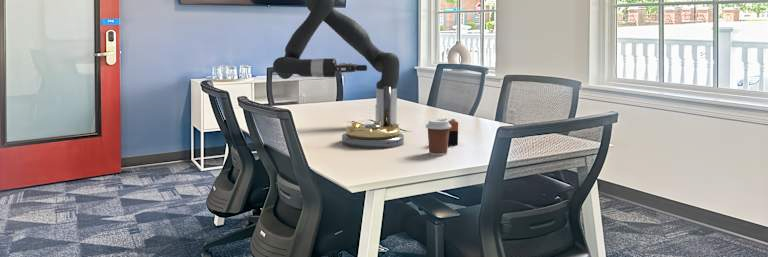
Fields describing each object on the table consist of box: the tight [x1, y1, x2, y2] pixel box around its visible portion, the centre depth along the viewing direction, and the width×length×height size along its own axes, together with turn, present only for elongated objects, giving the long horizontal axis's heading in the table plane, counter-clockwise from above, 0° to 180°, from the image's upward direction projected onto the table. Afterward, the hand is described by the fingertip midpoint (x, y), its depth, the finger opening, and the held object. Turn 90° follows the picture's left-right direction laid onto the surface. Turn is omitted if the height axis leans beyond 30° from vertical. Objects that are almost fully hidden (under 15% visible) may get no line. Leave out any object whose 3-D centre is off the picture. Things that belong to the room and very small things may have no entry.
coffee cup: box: [425, 118, 451, 156], centre depth 229 cm, size 9×9×12 cm
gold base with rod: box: [345, 87, 401, 139], centre depth 248 cm, size 21×21×18 cm
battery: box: [443, 118, 459, 146], centre depth 246 cm, size 4×7×10 cm, turn 97°
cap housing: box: [341, 132, 405, 150], centre depth 250 cm, size 24×24×3 cm
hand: (366, 67), depth 253 cm, fingers closed
